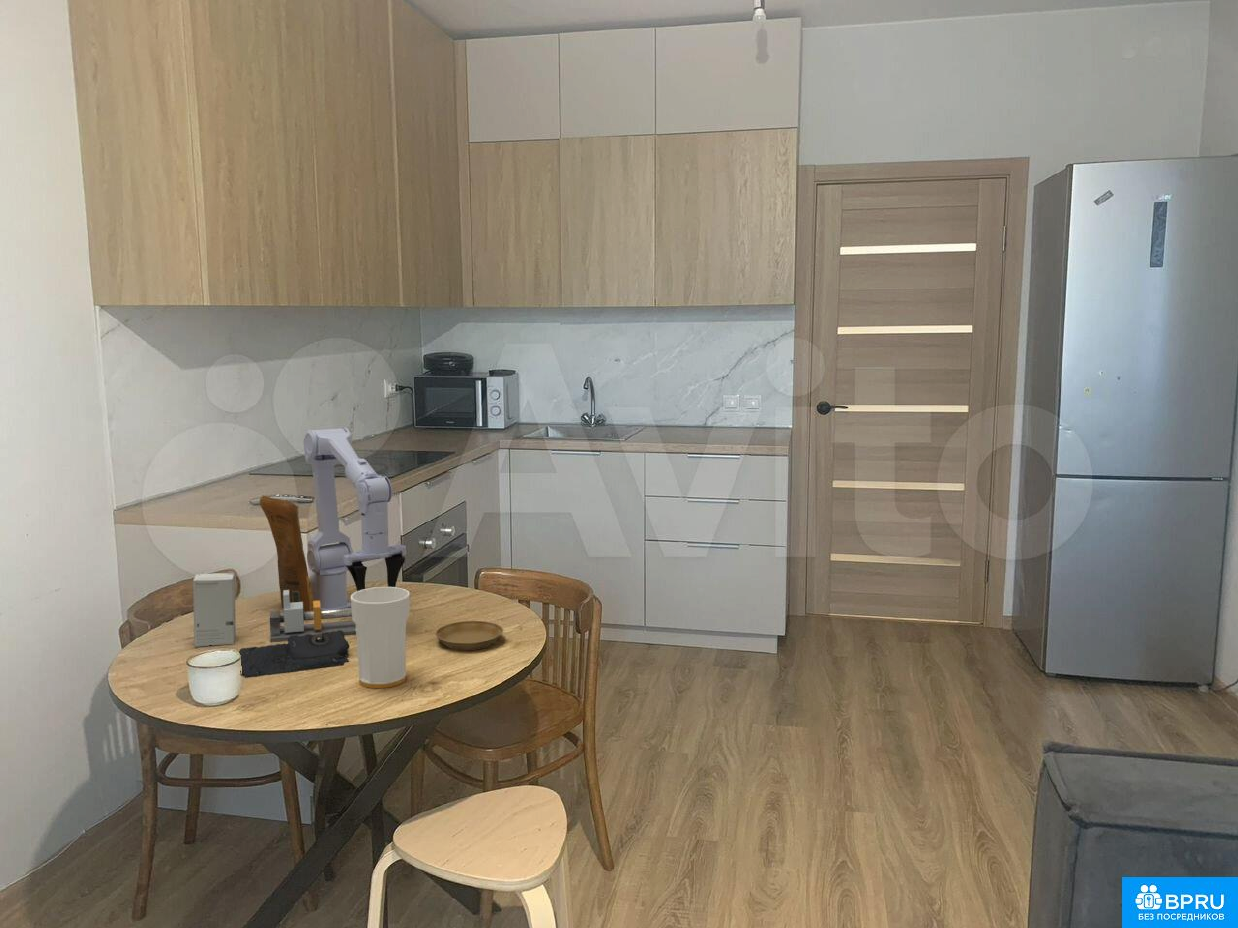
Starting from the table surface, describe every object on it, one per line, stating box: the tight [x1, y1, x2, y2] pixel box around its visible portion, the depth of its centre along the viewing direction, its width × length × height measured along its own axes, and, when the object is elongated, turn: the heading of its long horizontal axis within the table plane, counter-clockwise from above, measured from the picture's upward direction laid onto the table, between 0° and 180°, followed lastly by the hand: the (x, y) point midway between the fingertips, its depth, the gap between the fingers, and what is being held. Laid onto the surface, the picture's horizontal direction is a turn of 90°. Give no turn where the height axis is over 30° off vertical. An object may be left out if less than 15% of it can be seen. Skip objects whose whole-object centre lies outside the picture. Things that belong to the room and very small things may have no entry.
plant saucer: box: [434, 620, 504, 651], centre depth 211 cm, size 15×15×3 cm
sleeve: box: [283, 590, 305, 633], centre depth 214 cm, size 4×5×8 cm
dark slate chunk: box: [238, 630, 350, 679], centre depth 199 cm, size 15×22×5 cm
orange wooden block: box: [313, 601, 322, 630], centre depth 216 cm, size 2×5×5 cm, turn 18°
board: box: [269, 619, 356, 643], centre depth 217 cm, size 26×8×1 cm, turn 108°
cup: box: [350, 586, 411, 689], centre depth 188 cm, size 11×11×17 cm
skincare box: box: [192, 572, 237, 648], centre depth 209 cm, size 8×6×15 cm
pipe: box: [269, 607, 352, 637], centre depth 217 cm, size 26×5×5 cm, turn 108°
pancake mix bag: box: [259, 495, 314, 612], centre depth 230 cm, size 7×19×28 cm, turn 38°
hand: (376, 590), depth 215 cm, fingers open, 7 cm apart
